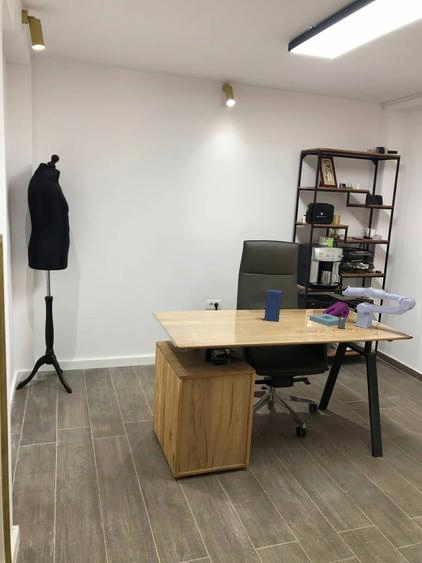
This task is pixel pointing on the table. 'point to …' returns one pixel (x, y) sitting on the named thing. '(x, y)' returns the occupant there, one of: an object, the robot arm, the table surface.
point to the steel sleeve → (341, 323)
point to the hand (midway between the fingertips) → (336, 291)
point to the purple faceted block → (338, 310)
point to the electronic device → (273, 305)
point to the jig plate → (325, 319)
